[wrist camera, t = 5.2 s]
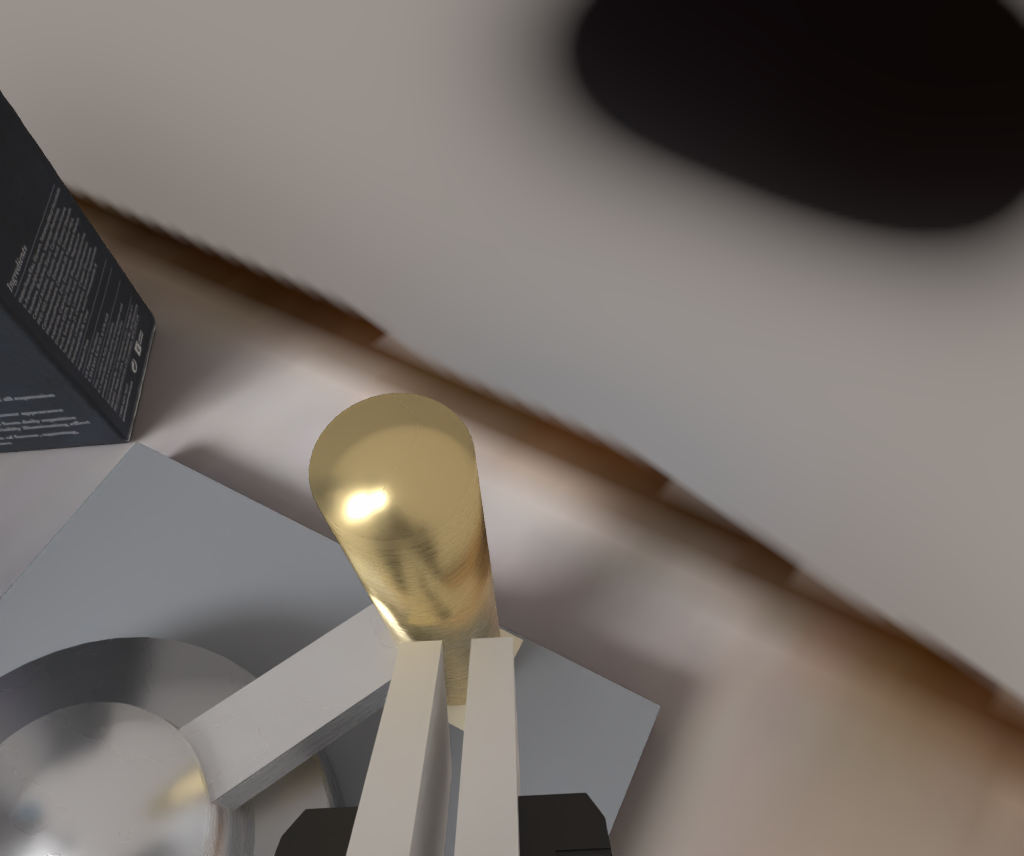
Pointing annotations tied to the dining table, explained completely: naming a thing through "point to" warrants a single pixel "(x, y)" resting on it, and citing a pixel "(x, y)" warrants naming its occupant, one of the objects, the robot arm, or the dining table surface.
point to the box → (61, 312)
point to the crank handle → (240, 695)
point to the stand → (286, 621)
